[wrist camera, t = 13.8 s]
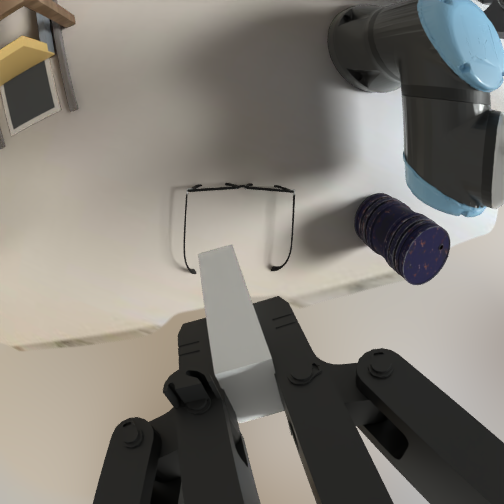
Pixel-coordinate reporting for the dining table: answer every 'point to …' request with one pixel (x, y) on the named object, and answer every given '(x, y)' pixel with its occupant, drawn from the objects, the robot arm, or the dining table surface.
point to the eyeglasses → (245, 189)
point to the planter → (496, 15)
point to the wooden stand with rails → (45, 3)
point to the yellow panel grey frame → (26, 51)
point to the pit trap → (30, 97)
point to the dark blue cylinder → (402, 237)
